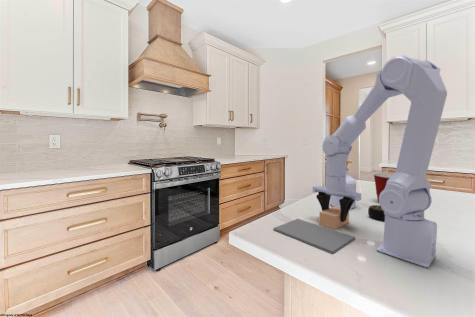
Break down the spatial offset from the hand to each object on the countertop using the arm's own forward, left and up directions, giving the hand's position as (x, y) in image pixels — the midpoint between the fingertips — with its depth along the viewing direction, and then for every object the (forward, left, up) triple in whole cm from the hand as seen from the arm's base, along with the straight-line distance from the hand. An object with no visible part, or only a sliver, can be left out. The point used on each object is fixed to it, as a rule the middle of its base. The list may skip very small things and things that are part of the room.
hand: (334, 218), depth 70 cm
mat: (0, +13, -2) cm, 13 cm away
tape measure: (-8, -17, -2) cm, 19 cm away
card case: (0, 0, -2) cm, 2 cm away
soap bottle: (+7, -20, -2) cm, 22 cm away
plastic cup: (-3, -38, -2) cm, 39 cm away
